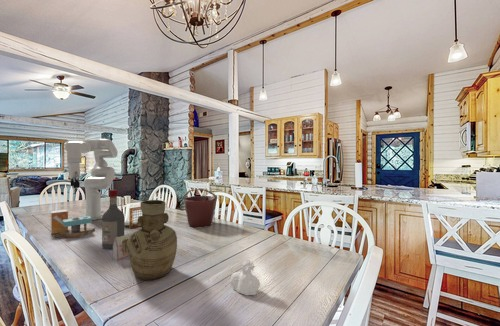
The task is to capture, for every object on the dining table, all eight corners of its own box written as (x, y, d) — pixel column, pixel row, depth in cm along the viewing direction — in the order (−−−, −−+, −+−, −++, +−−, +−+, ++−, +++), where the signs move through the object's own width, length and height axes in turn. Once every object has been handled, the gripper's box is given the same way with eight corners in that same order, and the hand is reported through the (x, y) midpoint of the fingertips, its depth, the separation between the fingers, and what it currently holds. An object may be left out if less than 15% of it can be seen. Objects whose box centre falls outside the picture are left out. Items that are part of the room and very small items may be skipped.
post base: (73, 230, 151) (73, 214, 150) (94, 230, 150) (94, 214, 150) (54, 237, 137) (54, 220, 136) (78, 237, 136) (78, 220, 136)
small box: (51, 234, 142) (51, 213, 142) (50, 231, 147) (50, 211, 146) (68, 231, 148) (68, 211, 147) (67, 229, 152) (66, 209, 152)
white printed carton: (112, 258, 110) (112, 237, 110) (127, 253, 116) (127, 233, 116) (117, 260, 108) (117, 239, 108) (131, 255, 114) (131, 235, 114)
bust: (260, 301, 83) (269, 268, 88) (252, 296, 77) (262, 262, 83) (232, 291, 89) (241, 260, 94) (222, 286, 83) (233, 254, 89)
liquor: (114, 250, 120) (114, 191, 119) (99, 248, 122) (98, 191, 121) (127, 243, 129) (126, 189, 128) (112, 242, 131) (112, 188, 130)
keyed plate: (64, 227, 137) (64, 222, 137) (62, 224, 141) (62, 219, 141) (91, 222, 147) (91, 218, 146) (89, 220, 151) (89, 216, 151)
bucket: (176, 226, 161) (176, 190, 160) (193, 218, 182) (193, 186, 181) (208, 230, 154) (208, 192, 153) (222, 221, 175) (222, 188, 174)
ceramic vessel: (133, 263, 106) (133, 197, 105) (180, 261, 108) (181, 196, 107) (112, 286, 87) (112, 206, 86) (171, 284, 89) (171, 205, 88)
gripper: (65, 160, 156) (65, 185, 157) (69, 161, 144) (70, 189, 145) (78, 160, 161) (79, 184, 162) (84, 161, 149) (84, 188, 150)
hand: (75, 186), depth 153 cm, fingers open, 9 cm apart
